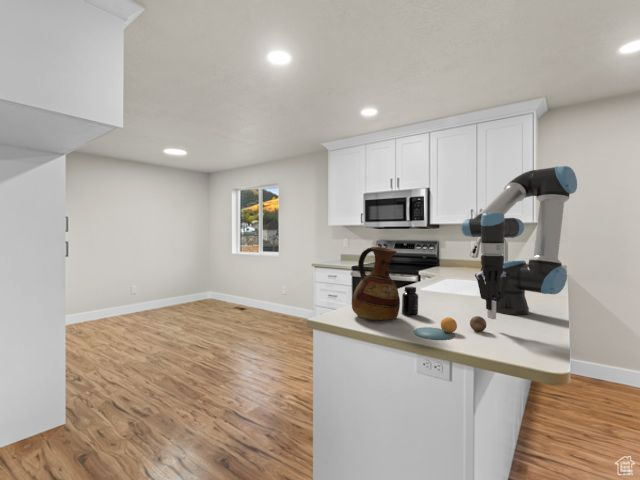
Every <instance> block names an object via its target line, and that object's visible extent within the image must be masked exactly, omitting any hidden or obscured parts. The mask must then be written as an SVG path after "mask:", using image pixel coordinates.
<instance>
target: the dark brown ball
mask: <svg viewBox="0 0 640 480" xmlns="http://www.w3.org/2000/svg"><path fill="white" fill-rule="evenodd" d="M469 326H470V328H471V329H472V330H473V331H475V332H480V333H482V332H484V331H485V329H486V328H487V321H486V319H485V318H484V317H482V316H478V315H477V316H472V318H471V319H470V320H469Z"/></svg>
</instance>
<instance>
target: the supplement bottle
mask: <svg viewBox="0 0 640 480" xmlns="http://www.w3.org/2000/svg"><path fill="white" fill-rule="evenodd" d="M403 291H404V292H403V293H402V294H401V314H402V315H403V316H408V317H416V316H418V314H419V295H418V293H417V287H416V286H410V285H409V286H404V290H403Z"/></svg>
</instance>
